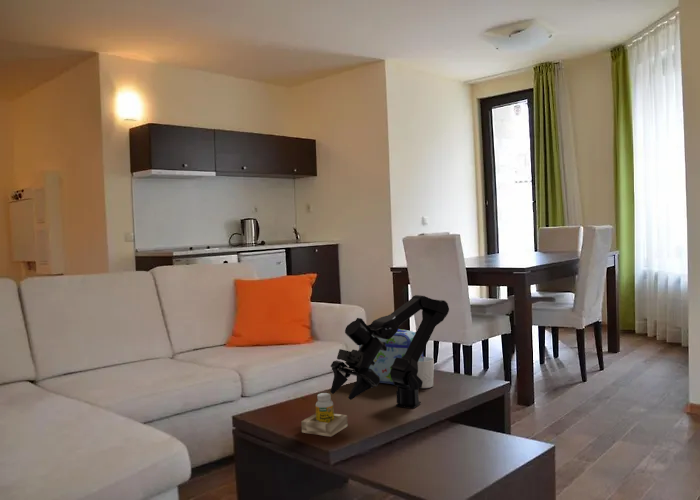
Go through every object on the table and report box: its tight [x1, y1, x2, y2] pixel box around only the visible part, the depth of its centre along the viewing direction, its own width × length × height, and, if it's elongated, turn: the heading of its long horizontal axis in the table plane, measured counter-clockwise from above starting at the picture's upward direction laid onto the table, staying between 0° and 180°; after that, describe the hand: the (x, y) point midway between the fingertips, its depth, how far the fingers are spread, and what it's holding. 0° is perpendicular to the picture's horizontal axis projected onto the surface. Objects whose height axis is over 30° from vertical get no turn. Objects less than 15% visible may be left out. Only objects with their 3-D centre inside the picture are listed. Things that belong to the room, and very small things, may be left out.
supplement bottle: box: [315, 392, 335, 423], centre depth 182 cm, size 5×5×10 cm
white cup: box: [417, 356, 435, 389], centre depth 225 cm, size 8×8×10 cm
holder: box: [301, 413, 348, 437], centre depth 182 cm, size 10×10×3 cm
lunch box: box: [358, 328, 424, 385], centre depth 233 cm, size 26×11×21 cm, turn 49°
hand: (340, 395), depth 185 cm, fingers open, 9 cm apart
